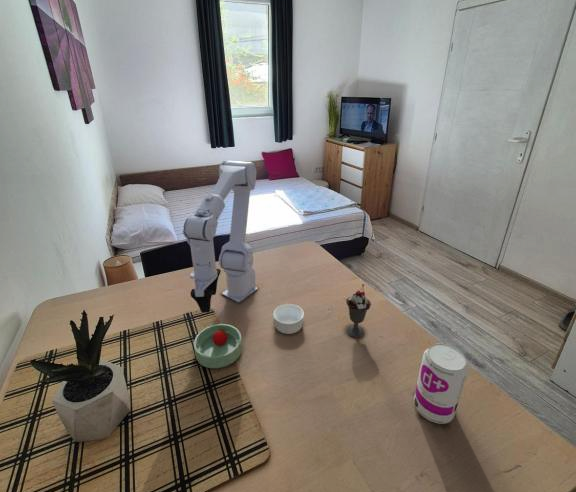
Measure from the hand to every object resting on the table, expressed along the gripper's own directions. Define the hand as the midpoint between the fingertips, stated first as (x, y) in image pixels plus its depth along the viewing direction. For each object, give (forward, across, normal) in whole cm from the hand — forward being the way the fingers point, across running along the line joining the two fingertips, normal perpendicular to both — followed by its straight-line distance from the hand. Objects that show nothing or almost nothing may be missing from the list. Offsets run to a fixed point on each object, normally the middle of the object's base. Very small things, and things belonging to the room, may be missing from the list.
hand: (208, 302), depth 90 cm
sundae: (+10, +1, +41) cm, 42 cm away
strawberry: (+8, +8, +4) cm, 12 cm away
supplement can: (+10, +24, +54) cm, 60 cm away
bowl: (+9, +8, +4) cm, 13 cm away
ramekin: (+10, -2, +22) cm, 24 cm away
